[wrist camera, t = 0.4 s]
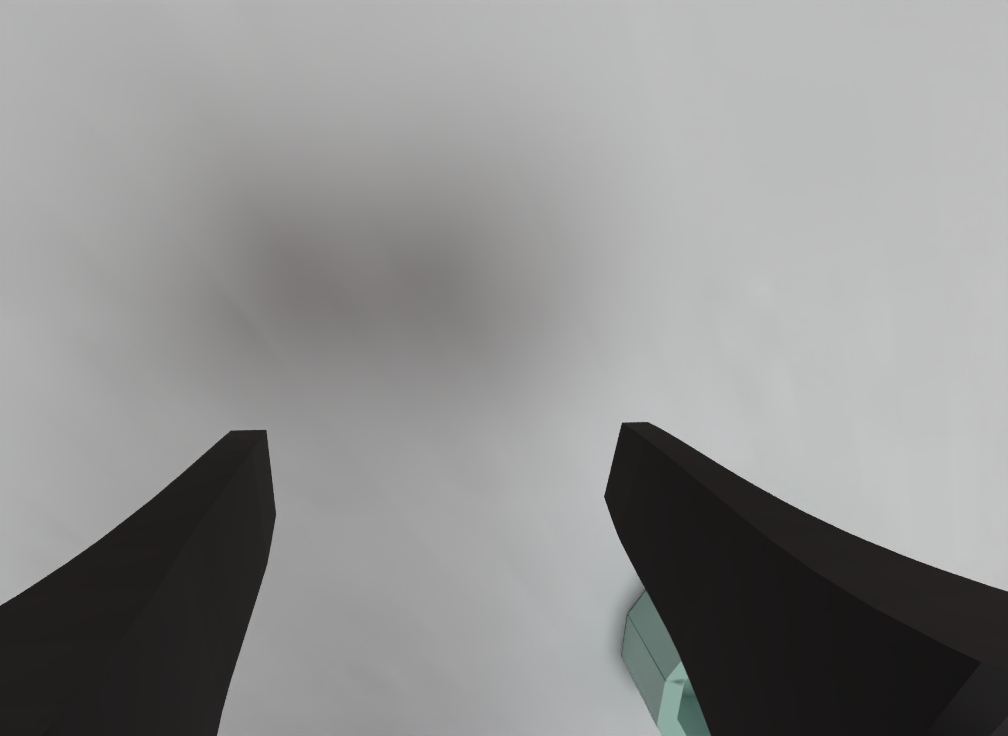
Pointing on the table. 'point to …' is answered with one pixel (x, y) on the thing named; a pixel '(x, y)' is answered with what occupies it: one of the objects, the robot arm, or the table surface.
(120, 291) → the table surface
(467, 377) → the table surface
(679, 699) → the bowl
